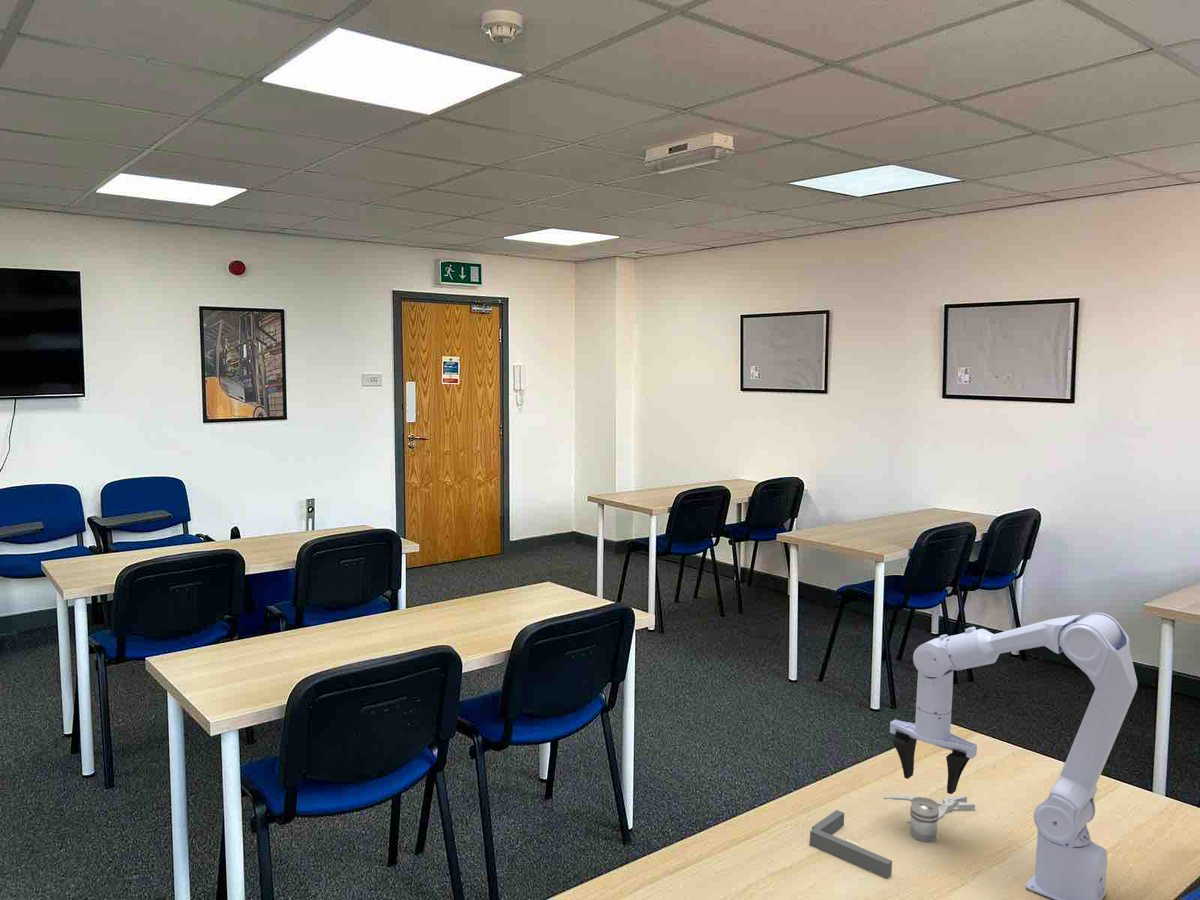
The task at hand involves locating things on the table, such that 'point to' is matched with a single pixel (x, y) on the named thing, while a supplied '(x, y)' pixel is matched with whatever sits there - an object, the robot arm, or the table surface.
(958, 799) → the pliers
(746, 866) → the table surface
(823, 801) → the table surface
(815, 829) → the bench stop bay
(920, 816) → the piston
